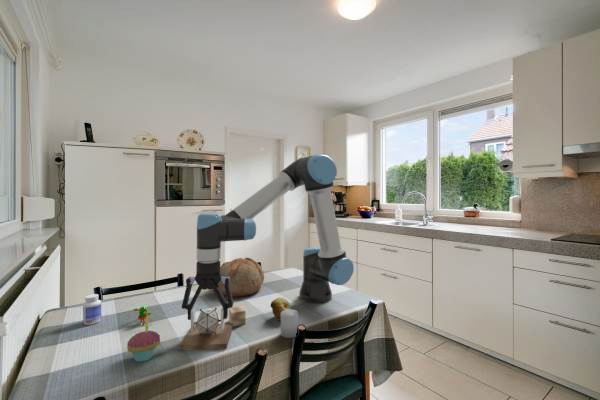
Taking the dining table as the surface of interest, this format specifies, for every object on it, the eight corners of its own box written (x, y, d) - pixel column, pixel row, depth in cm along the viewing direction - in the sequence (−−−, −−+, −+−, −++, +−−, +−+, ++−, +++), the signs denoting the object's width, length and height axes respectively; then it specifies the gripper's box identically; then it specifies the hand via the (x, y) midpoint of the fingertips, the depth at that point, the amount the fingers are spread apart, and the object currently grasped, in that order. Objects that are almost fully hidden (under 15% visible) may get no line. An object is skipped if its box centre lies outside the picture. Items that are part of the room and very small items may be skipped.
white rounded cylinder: (294, 327, 102) (294, 308, 102) (301, 335, 97) (300, 315, 96) (278, 330, 100) (278, 311, 99) (284, 339, 94) (283, 319, 94)
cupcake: (136, 349, 87) (136, 310, 87) (165, 348, 88) (165, 310, 88) (121, 366, 79) (121, 323, 79) (153, 365, 79) (153, 322, 79)
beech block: (242, 318, 110) (242, 305, 110) (245, 324, 105) (245, 310, 105) (229, 321, 108) (229, 307, 108) (231, 326, 103) (231, 313, 103)
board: (232, 327, 102) (232, 323, 102) (226, 348, 89) (226, 343, 89) (192, 328, 101) (192, 324, 101) (179, 350, 87) (179, 345, 87)
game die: (210, 347, 93) (209, 331, 87) (189, 334, 95) (186, 318, 89) (226, 324, 100) (227, 308, 94) (207, 313, 102) (205, 296, 96)
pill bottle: (104, 320, 107) (104, 294, 107) (90, 326, 102) (89, 299, 102) (94, 317, 109) (94, 292, 109) (79, 323, 104) (79, 297, 104)
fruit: (275, 325, 105) (275, 303, 104) (266, 316, 112) (267, 296, 112) (293, 321, 108) (293, 300, 108) (284, 312, 115) (284, 293, 115)
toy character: (141, 334, 97) (141, 314, 97) (119, 326, 103) (119, 308, 103) (168, 321, 107) (168, 304, 107) (148, 315, 113) (148, 298, 112)
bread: (229, 279, 159) (229, 252, 159) (269, 282, 155) (270, 254, 155) (206, 296, 133) (206, 264, 133) (254, 300, 129) (254, 267, 129)
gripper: (243, 257, 99) (242, 322, 99) (178, 258, 97) (177, 324, 97) (240, 263, 92) (239, 333, 92) (170, 263, 89) (169, 335, 90)
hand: (207, 328), depth 95 cm, fingers closed on game die, 9 cm apart
